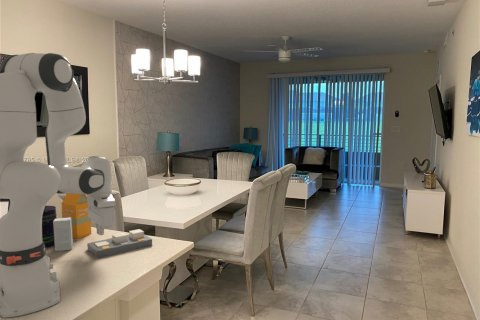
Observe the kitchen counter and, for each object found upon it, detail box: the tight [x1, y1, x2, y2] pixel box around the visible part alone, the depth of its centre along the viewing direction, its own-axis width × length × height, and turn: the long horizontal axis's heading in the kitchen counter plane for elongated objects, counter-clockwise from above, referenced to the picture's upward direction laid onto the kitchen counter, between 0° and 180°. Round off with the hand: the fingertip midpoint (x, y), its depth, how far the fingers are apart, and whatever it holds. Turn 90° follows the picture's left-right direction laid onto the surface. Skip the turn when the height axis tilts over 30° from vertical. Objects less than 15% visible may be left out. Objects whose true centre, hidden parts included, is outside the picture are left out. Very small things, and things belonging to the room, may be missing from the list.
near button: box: [94, 241, 110, 248], centre depth 141 cm, size 4×4×3 cm
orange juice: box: [61, 193, 92, 239], centre depth 158 cm, size 8×9×20 cm
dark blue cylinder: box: [42, 205, 57, 249], centre depth 146 cm, size 10×10×15 cm
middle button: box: [111, 231, 128, 244], centre depth 145 cm, size 4×4×3 cm
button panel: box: [87, 234, 153, 259], centre depth 145 cm, size 11×22×3 cm, turn 129°
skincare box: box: [53, 217, 74, 252], centre depth 142 cm, size 6×4×12 cm
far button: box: [128, 228, 145, 240], centre depth 149 cm, size 4×4×3 cm
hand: (100, 234), depth 139 cm, fingers closed
